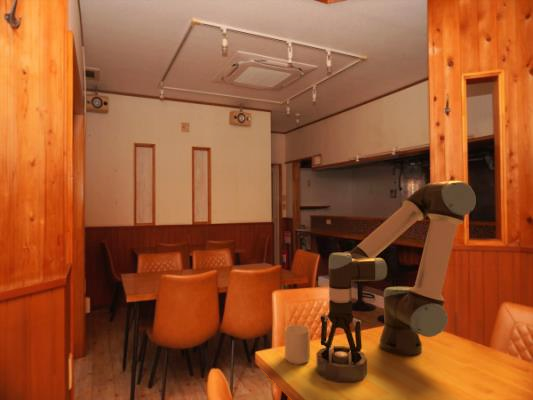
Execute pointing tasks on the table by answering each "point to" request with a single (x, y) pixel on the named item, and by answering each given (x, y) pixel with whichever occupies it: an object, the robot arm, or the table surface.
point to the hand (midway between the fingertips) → (341, 368)
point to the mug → (297, 344)
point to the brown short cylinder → (340, 358)
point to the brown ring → (341, 367)
